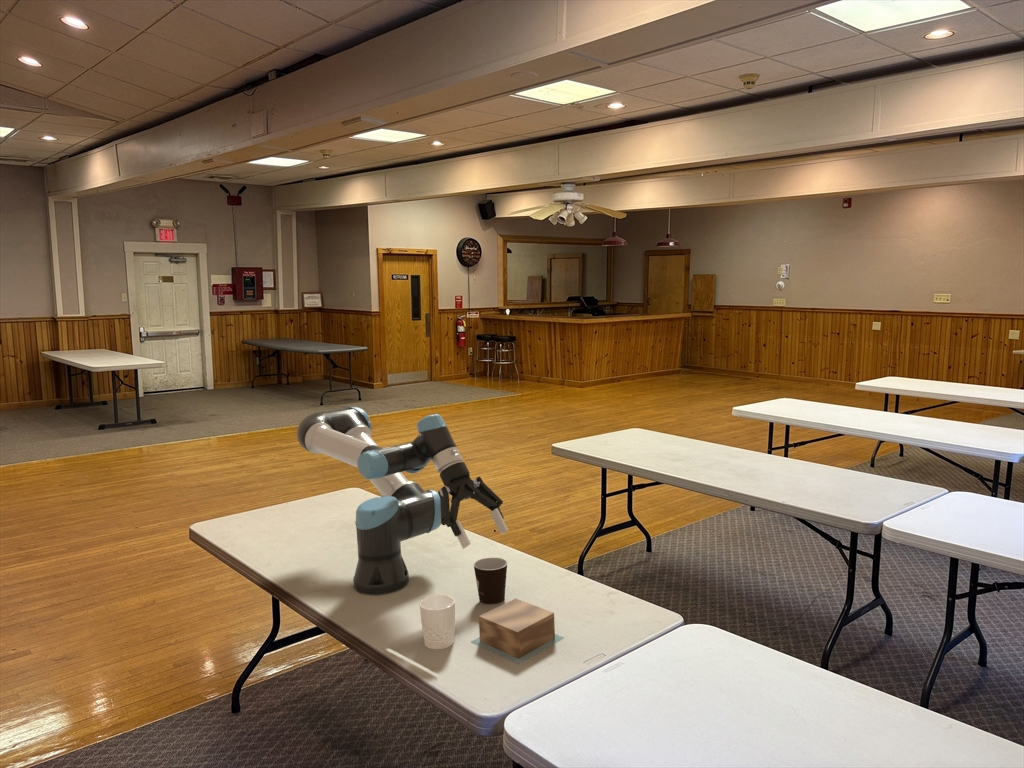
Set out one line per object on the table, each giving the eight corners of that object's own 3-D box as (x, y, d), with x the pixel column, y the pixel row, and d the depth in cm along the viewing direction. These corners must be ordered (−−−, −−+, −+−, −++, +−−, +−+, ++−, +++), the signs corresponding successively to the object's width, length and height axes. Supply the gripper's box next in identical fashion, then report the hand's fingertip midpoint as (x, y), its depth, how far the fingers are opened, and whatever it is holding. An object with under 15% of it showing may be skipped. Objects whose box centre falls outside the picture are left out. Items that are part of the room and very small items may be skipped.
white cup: (429, 656, 154) (427, 612, 153) (417, 641, 161) (414, 599, 160) (462, 647, 157) (460, 604, 156) (449, 633, 164) (446, 592, 163)
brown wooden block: (479, 641, 158) (478, 616, 158) (516, 622, 167) (515, 598, 166) (518, 658, 150) (517, 632, 149) (554, 638, 159) (554, 612, 158)
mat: (470, 644, 158) (470, 641, 158) (516, 620, 169) (516, 618, 169) (518, 666, 148) (518, 663, 148) (564, 640, 159) (564, 637, 159)
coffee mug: (504, 609, 176) (503, 570, 175) (471, 607, 178) (469, 569, 176) (514, 590, 187) (512, 553, 186) (482, 588, 189) (481, 552, 188)
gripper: (421, 470, 177) (457, 546, 171) (492, 452, 195) (527, 521, 189) (407, 483, 182) (442, 558, 176) (477, 465, 200) (511, 532, 193)
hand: (486, 539), depth 182 cm, fingers open, 13 cm apart
